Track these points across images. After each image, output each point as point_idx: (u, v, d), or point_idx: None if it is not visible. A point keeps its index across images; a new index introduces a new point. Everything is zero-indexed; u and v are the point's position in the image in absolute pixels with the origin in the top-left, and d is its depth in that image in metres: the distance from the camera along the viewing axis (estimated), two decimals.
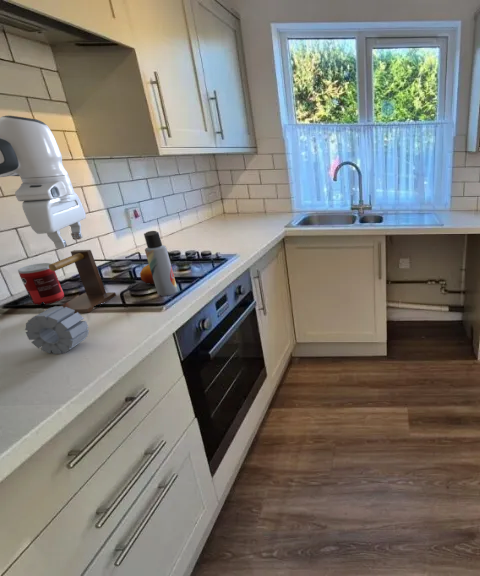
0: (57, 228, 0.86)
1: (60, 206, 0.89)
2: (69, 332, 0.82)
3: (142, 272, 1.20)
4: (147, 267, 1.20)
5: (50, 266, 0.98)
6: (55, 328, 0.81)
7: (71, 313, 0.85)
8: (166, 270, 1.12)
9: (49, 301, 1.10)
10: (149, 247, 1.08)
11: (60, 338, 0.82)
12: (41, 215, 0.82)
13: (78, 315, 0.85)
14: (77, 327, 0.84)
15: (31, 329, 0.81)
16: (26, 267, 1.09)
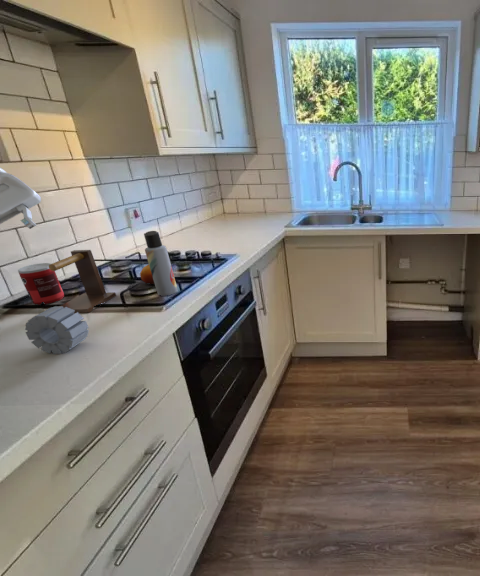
0: None
1: None
2: (69, 332, 0.82)
3: (142, 272, 1.20)
4: (147, 267, 1.20)
5: (50, 266, 0.98)
6: (55, 328, 0.81)
7: (71, 313, 0.85)
8: (166, 270, 1.12)
9: (49, 301, 1.10)
10: (149, 247, 1.08)
11: (60, 338, 0.82)
12: None
13: (78, 315, 0.85)
14: (77, 327, 0.84)
15: (31, 329, 0.81)
16: (26, 267, 1.09)
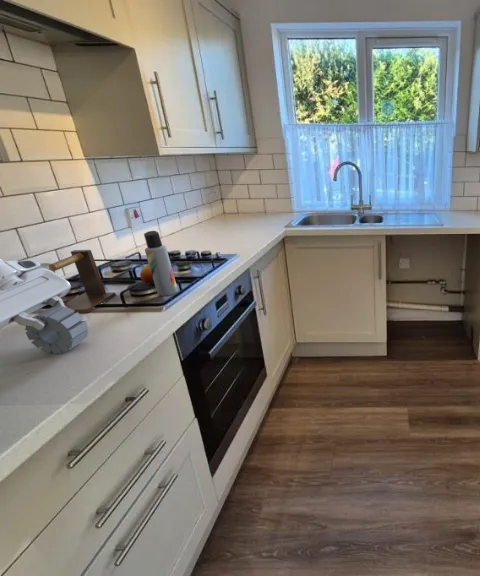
0: None
1: None
2: (69, 332, 0.82)
3: (142, 272, 1.20)
4: (147, 267, 1.20)
5: (50, 266, 0.98)
6: (55, 328, 0.81)
7: (71, 313, 0.84)
8: (166, 270, 1.12)
9: None
10: (149, 247, 1.08)
11: (60, 338, 0.82)
12: None
13: (78, 315, 0.85)
14: (77, 327, 0.84)
15: (31, 329, 0.81)
16: None
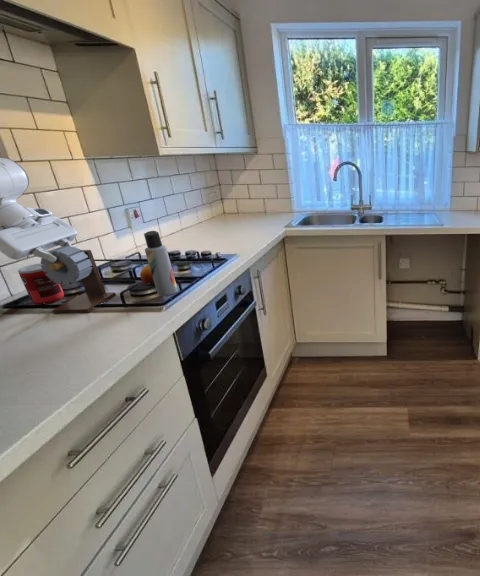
0: None
1: None
2: (76, 265, 1.01)
3: (142, 272, 1.20)
4: (147, 267, 1.20)
5: (50, 266, 0.98)
6: (65, 262, 1.00)
7: (78, 251, 1.03)
8: (166, 270, 1.12)
9: (49, 301, 1.10)
10: (149, 247, 1.08)
11: (69, 271, 1.01)
12: None
13: (83, 253, 1.04)
14: (83, 263, 1.03)
15: (45, 263, 1.00)
16: (26, 267, 1.09)
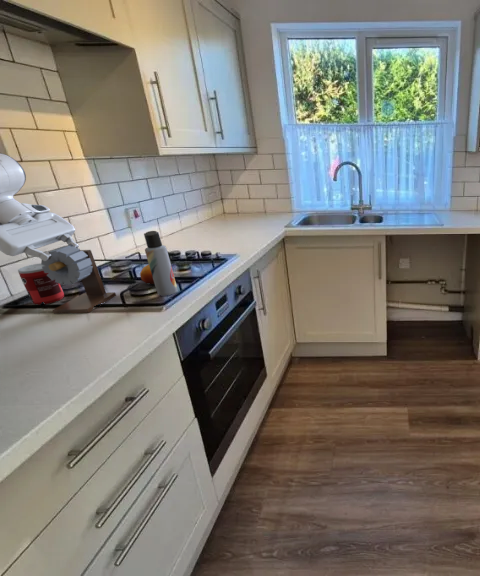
0: None
1: None
2: (76, 264, 1.00)
3: (142, 272, 1.20)
4: (147, 267, 1.20)
5: (50, 266, 0.98)
6: (65, 261, 1.00)
7: (77, 251, 1.03)
8: (166, 270, 1.12)
9: (49, 301, 1.10)
10: (149, 247, 1.08)
11: (69, 270, 1.01)
12: None
13: (83, 253, 1.04)
14: (83, 261, 1.02)
15: (46, 263, 1.00)
16: (26, 267, 1.09)
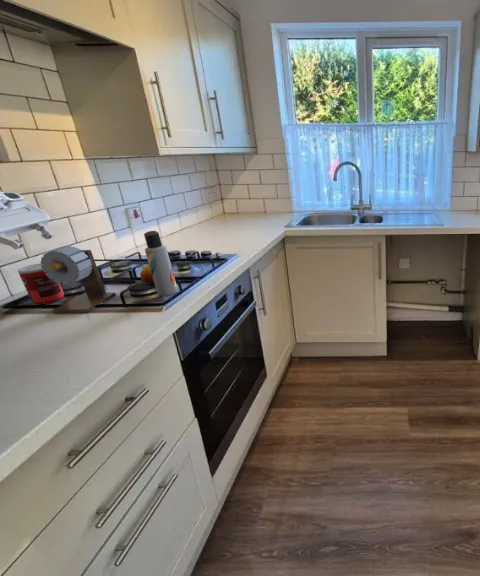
0: None
1: None
2: (76, 265, 1.01)
3: (142, 272, 1.20)
4: (147, 267, 1.20)
5: (50, 266, 0.98)
6: (65, 262, 1.00)
7: (78, 251, 1.03)
8: (166, 270, 1.12)
9: (49, 301, 1.10)
10: (149, 247, 1.08)
11: (69, 271, 1.01)
12: None
13: (83, 253, 1.04)
14: (83, 263, 1.03)
15: (45, 262, 1.00)
16: (26, 267, 1.09)
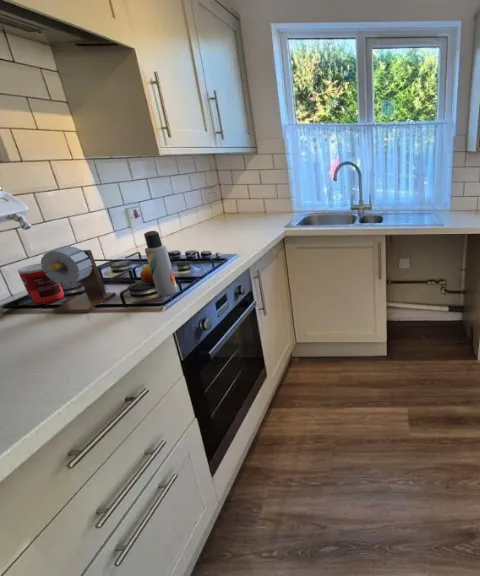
0: None
1: None
2: (76, 265, 1.01)
3: (142, 272, 1.20)
4: (147, 267, 1.20)
5: (50, 266, 0.98)
6: (65, 262, 1.00)
7: (78, 251, 1.03)
8: (166, 270, 1.12)
9: (49, 301, 1.10)
10: (149, 247, 1.08)
11: (69, 270, 1.01)
12: None
13: (83, 253, 1.04)
14: (83, 262, 1.03)
15: (45, 263, 1.00)
16: (26, 267, 1.09)
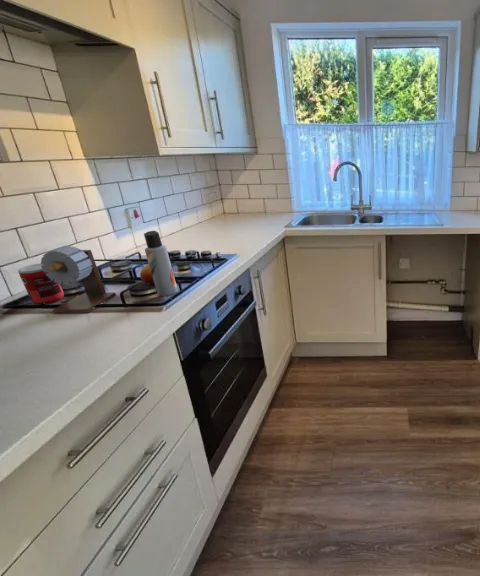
0: None
1: None
2: (76, 265, 1.01)
3: (142, 272, 1.20)
4: (147, 267, 1.20)
5: (50, 266, 0.98)
6: (65, 262, 1.00)
7: (78, 251, 1.03)
8: (166, 270, 1.12)
9: (49, 301, 1.10)
10: (149, 247, 1.08)
11: (69, 270, 1.01)
12: None
13: (83, 253, 1.04)
14: (83, 262, 1.03)
15: (45, 263, 1.00)
16: (26, 267, 1.09)
